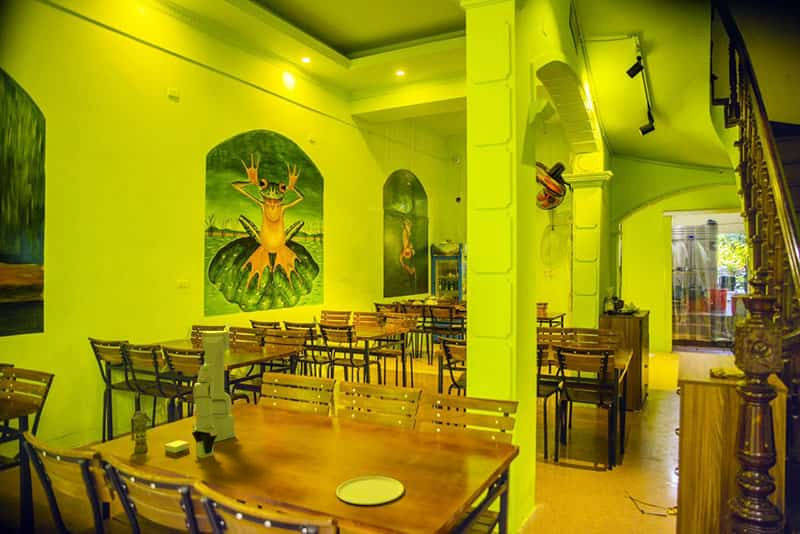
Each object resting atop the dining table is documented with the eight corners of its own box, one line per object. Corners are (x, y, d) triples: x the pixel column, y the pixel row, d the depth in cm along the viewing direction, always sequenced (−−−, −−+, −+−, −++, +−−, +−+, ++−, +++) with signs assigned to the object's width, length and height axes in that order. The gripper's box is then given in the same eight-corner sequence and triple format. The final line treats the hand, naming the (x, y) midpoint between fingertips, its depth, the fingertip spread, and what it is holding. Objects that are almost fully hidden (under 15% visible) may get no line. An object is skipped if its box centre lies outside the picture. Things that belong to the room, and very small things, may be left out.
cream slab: (178, 445, 210) (178, 440, 210) (189, 447, 207) (188, 442, 207) (165, 450, 205) (164, 444, 205) (175, 452, 202) (175, 447, 202)
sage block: (207, 452, 205) (207, 439, 205) (213, 455, 202) (213, 441, 202) (196, 455, 202) (195, 442, 202) (202, 458, 199) (201, 444, 199)
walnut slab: (179, 450, 210) (179, 445, 210) (189, 453, 207) (189, 447, 207) (165, 455, 205) (165, 450, 205) (175, 457, 202) (175, 452, 202)
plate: (418, 495, 164) (418, 491, 164) (358, 514, 152) (358, 510, 152) (380, 474, 181) (379, 470, 181) (323, 490, 169) (323, 486, 169)
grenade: (142, 454, 205) (141, 414, 205) (126, 453, 207) (125, 413, 207) (154, 447, 212) (153, 409, 212) (139, 446, 214) (138, 408, 214)
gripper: (184, 413, 204) (185, 450, 204) (203, 420, 194) (204, 458, 194) (202, 410, 209) (202, 445, 209) (221, 416, 200) (222, 453, 200)
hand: (204, 451), depth 202 cm, fingers closed on sage block, 4 cm apart
